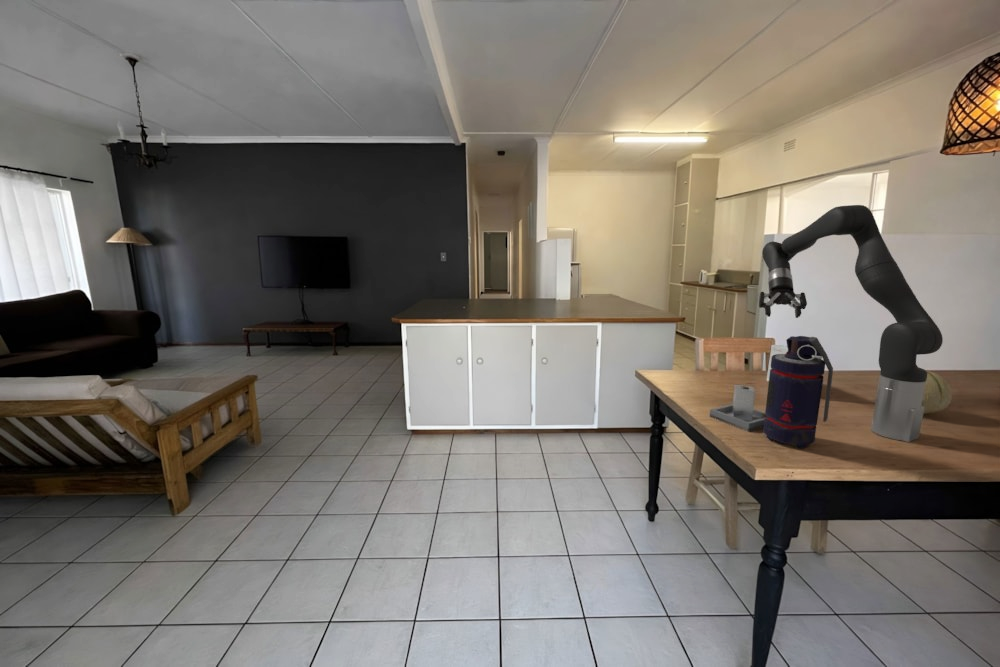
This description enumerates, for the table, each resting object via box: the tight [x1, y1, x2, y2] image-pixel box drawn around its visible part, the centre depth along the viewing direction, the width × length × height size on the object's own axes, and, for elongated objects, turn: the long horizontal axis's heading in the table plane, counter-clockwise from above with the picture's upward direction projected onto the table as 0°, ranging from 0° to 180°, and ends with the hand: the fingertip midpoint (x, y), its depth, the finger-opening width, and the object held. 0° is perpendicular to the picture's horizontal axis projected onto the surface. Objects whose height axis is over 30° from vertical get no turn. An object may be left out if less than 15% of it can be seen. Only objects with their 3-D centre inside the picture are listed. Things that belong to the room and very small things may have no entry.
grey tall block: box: [732, 384, 756, 421], centre depth 125 cm, size 5×5×10 cm
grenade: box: [763, 335, 834, 449], centre depth 108 cm, size 14×12×30 cm
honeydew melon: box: [921, 370, 953, 415], centre depth 129 cm, size 15×15×15 cm
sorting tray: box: [709, 403, 766, 432], centre depth 126 cm, size 13×13×2 cm
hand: (783, 315), depth 141 cm, fingers open, 8 cm apart
